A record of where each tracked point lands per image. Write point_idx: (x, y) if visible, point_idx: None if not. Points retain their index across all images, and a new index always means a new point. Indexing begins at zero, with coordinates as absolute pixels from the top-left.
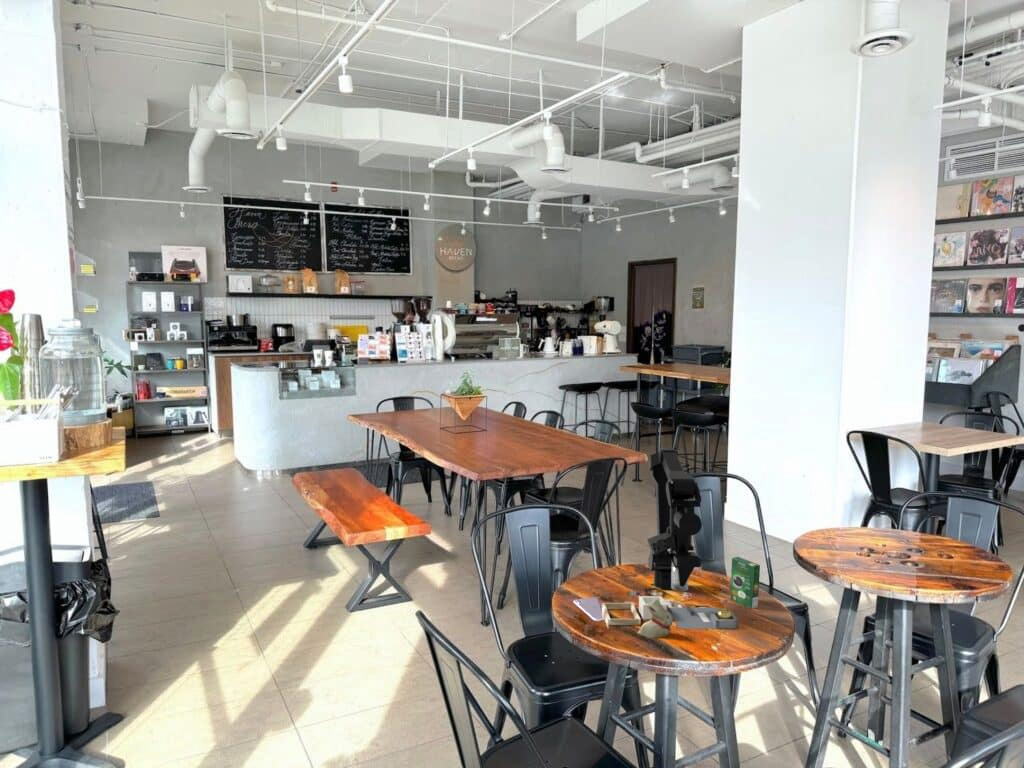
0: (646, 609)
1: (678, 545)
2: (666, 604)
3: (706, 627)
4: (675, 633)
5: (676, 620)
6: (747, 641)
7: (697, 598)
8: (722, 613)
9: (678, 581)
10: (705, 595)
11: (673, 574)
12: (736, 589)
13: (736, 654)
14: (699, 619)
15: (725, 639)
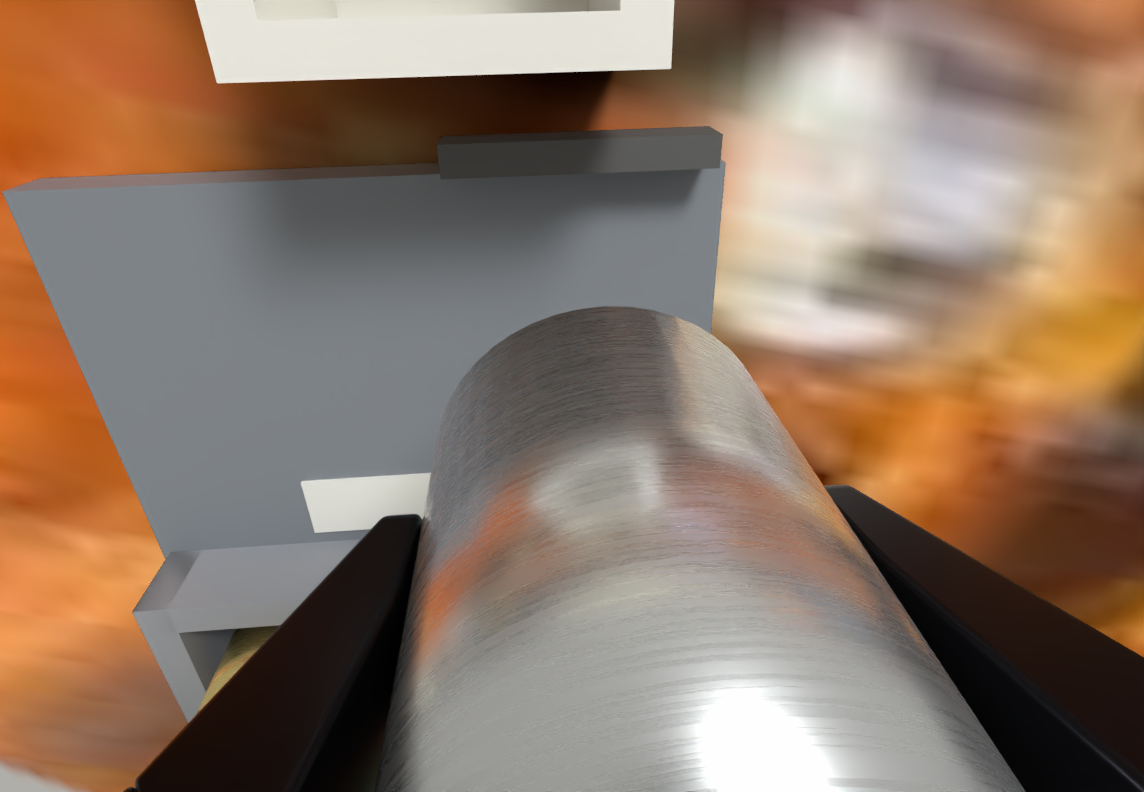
0: None
1: None
2: (716, 159)
3: (161, 479)
4: (21, 122)
5: (281, 201)
6: (92, 681)
7: (996, 513)
8: (200, 706)
9: (416, 556)
10: (1037, 577)
11: (521, 584)
12: None
13: None
14: (367, 454)
15: (67, 561)
